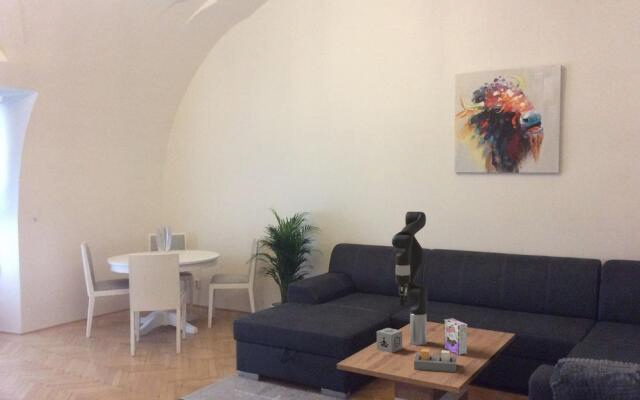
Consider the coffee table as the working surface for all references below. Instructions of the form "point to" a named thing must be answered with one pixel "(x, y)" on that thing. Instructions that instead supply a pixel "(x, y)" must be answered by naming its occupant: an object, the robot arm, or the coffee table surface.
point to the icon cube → (389, 340)
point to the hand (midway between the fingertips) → (403, 304)
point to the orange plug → (425, 354)
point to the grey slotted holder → (436, 362)
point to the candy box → (455, 336)
